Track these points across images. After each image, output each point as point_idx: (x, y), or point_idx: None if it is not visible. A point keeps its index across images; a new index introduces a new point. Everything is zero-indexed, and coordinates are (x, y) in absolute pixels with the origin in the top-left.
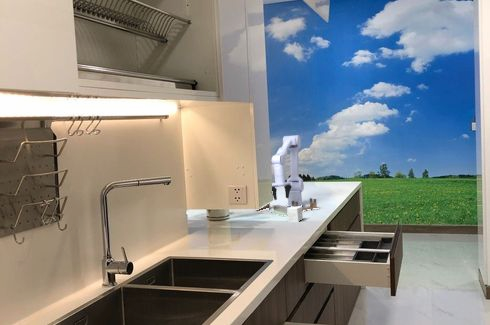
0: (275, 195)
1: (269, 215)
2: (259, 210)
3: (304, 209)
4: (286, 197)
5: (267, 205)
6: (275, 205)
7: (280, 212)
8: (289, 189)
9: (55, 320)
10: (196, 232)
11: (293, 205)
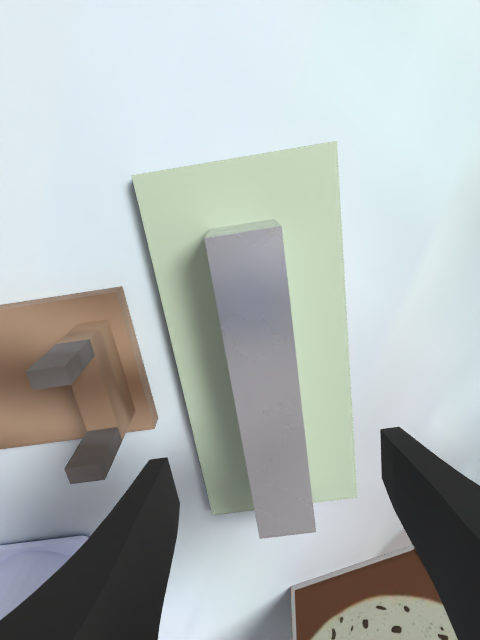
0: (450, 472)
1: (421, 321)
2: (407, 560)
3: (7, 323)
4: (174, 496)
5: (319, 624)
6: (296, 517)
7: (294, 338)
8: (50, 600)
9: None
10: None
11: (107, 415)
